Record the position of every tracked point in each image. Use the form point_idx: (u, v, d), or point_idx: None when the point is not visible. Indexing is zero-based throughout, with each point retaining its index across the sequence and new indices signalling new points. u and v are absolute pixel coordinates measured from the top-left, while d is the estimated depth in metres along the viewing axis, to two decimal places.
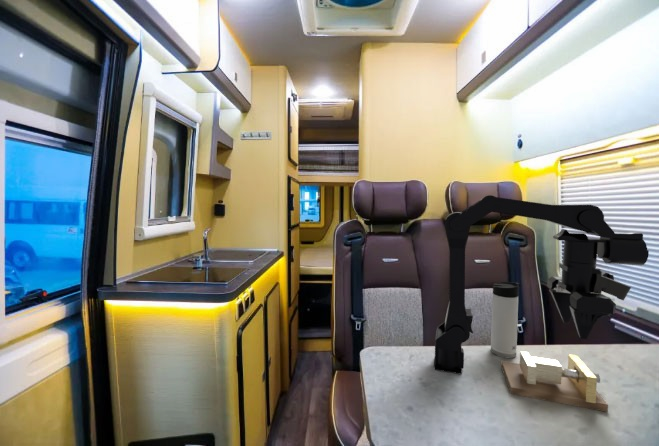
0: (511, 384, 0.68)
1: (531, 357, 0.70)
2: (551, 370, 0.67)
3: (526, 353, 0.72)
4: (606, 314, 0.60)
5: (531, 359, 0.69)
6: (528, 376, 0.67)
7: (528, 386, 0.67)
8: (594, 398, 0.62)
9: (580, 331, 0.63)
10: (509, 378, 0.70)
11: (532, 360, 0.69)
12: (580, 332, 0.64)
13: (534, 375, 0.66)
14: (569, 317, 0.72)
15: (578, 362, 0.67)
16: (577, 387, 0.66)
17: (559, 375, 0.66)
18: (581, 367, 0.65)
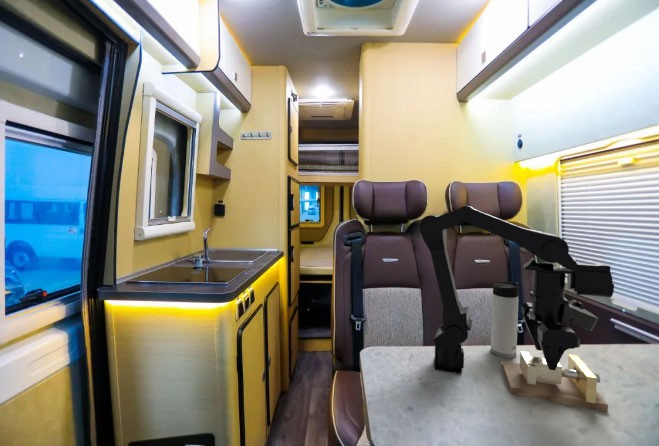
0: (511, 384, 0.68)
1: (531, 357, 0.70)
2: (551, 370, 0.67)
3: (526, 353, 0.72)
4: (571, 347, 0.60)
5: (531, 359, 0.69)
6: (528, 376, 0.67)
7: (528, 386, 0.67)
8: (594, 398, 0.62)
9: (548, 362, 0.64)
10: (509, 378, 0.70)
11: (532, 360, 0.69)
12: (548, 363, 0.64)
13: (534, 375, 0.66)
14: None
15: (578, 362, 0.67)
16: (577, 387, 0.66)
17: (559, 375, 0.66)
18: (581, 367, 0.65)
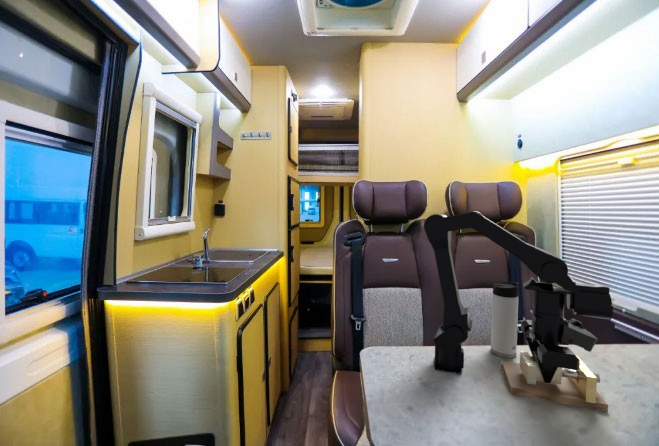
0: (511, 384, 0.68)
1: (531, 357, 0.70)
2: None
3: (526, 353, 0.72)
4: None
5: (531, 359, 0.69)
6: (528, 376, 0.67)
7: (528, 386, 0.67)
8: (594, 398, 0.62)
9: (544, 375, 0.67)
10: (509, 378, 0.70)
11: (532, 360, 0.69)
12: (544, 376, 0.67)
13: (534, 375, 0.66)
14: None
15: None
16: (577, 387, 0.66)
17: (559, 375, 0.66)
18: (581, 367, 0.65)
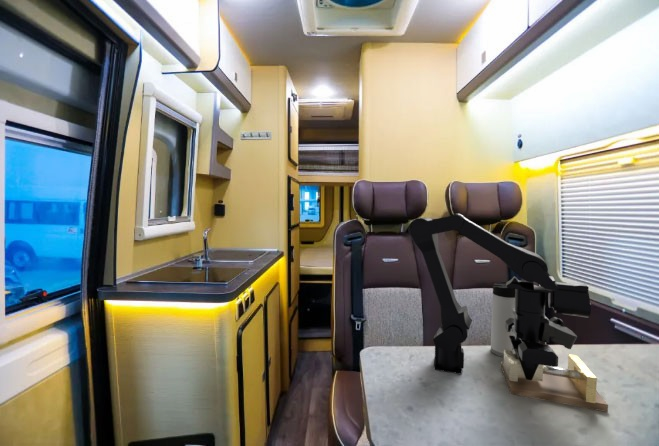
0: (511, 384, 0.68)
1: (514, 354, 0.71)
2: None
3: (509, 351, 0.73)
4: None
5: (514, 356, 0.70)
6: (510, 373, 0.68)
7: (528, 386, 0.67)
8: (594, 398, 0.62)
9: (525, 372, 0.68)
10: None
11: (515, 357, 0.70)
12: (525, 373, 0.68)
13: (516, 372, 0.68)
14: None
15: (578, 362, 0.67)
16: (577, 387, 0.66)
17: (540, 372, 0.68)
18: (581, 367, 0.65)
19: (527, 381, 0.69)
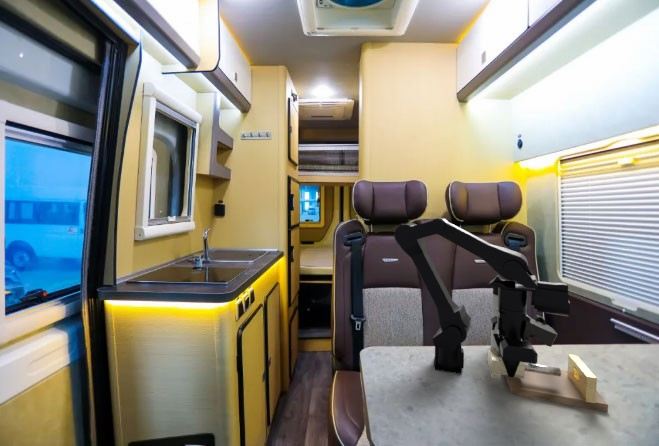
0: (511, 384, 0.68)
1: (497, 352, 0.73)
2: None
3: (493, 348, 0.74)
4: None
5: (497, 354, 0.72)
6: (492, 370, 0.69)
7: (528, 386, 0.67)
8: (594, 398, 0.62)
9: (507, 370, 0.69)
10: (509, 378, 0.70)
11: (498, 355, 0.71)
12: (507, 370, 0.69)
13: (498, 369, 0.69)
14: None
15: (578, 362, 0.67)
16: (577, 387, 0.66)
17: (522, 369, 0.69)
18: (581, 367, 0.65)
19: (527, 381, 0.69)
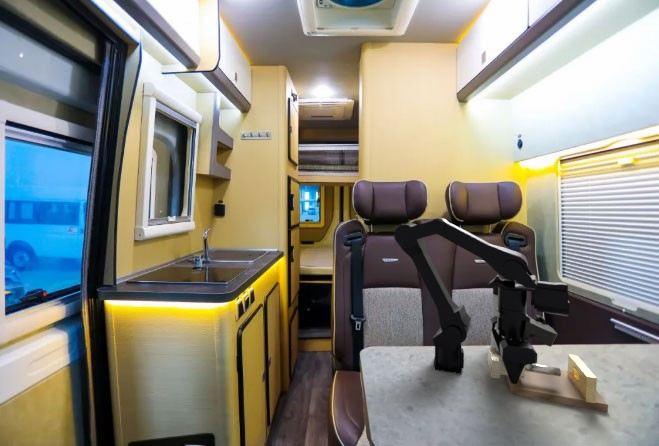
0: (511, 384, 0.68)
1: (497, 352, 0.73)
2: None
3: (493, 348, 0.75)
4: (530, 363, 0.63)
5: (497, 354, 0.72)
6: (492, 370, 0.69)
7: (528, 386, 0.67)
8: (594, 398, 0.62)
9: (510, 376, 0.66)
10: None
11: (498, 355, 0.71)
12: (510, 377, 0.66)
13: (498, 369, 0.69)
14: None
15: (578, 362, 0.67)
16: (577, 387, 0.66)
17: None
18: (581, 367, 0.65)
19: (527, 381, 0.69)
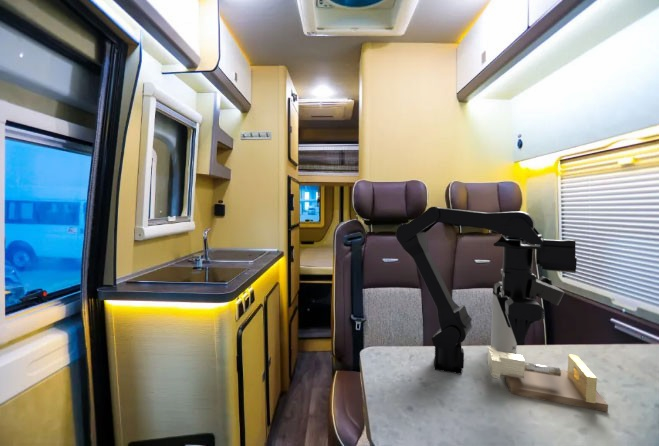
0: (511, 384, 0.68)
1: (497, 352, 0.73)
2: (515, 364, 0.69)
3: (493, 348, 0.75)
4: (536, 319, 0.61)
5: (497, 354, 0.72)
6: (492, 370, 0.69)
7: (528, 386, 0.67)
8: (594, 398, 0.62)
9: (516, 336, 0.65)
10: (509, 378, 0.70)
11: (498, 355, 0.71)
12: (516, 337, 0.65)
13: (498, 369, 0.69)
14: None
15: (578, 362, 0.67)
16: (577, 387, 0.66)
17: (522, 369, 0.69)
18: (581, 367, 0.65)
19: (527, 381, 0.69)
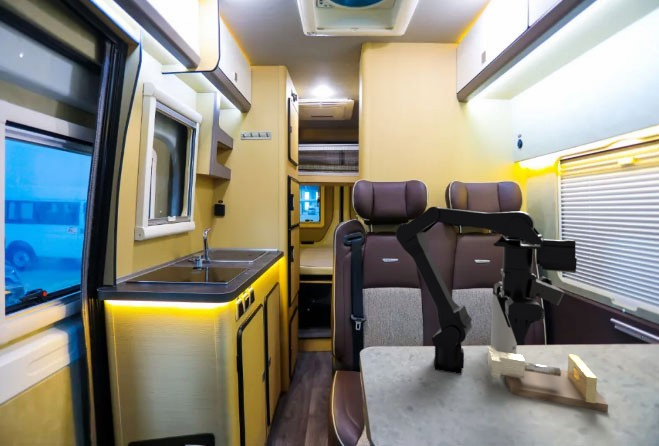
0: (511, 384, 0.68)
1: (497, 352, 0.73)
2: (515, 364, 0.69)
3: (493, 348, 0.75)
4: (536, 319, 0.61)
5: (497, 354, 0.72)
6: (492, 370, 0.69)
7: (528, 386, 0.67)
8: (594, 398, 0.62)
9: (516, 336, 0.65)
10: (509, 378, 0.70)
11: (498, 355, 0.71)
12: (516, 337, 0.65)
13: (498, 369, 0.69)
14: None
15: (578, 362, 0.67)
16: (577, 387, 0.66)
17: (522, 369, 0.69)
18: (581, 367, 0.65)
19: (527, 381, 0.69)
